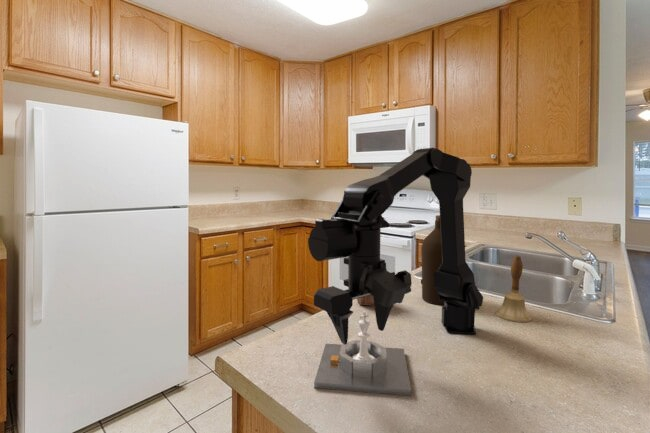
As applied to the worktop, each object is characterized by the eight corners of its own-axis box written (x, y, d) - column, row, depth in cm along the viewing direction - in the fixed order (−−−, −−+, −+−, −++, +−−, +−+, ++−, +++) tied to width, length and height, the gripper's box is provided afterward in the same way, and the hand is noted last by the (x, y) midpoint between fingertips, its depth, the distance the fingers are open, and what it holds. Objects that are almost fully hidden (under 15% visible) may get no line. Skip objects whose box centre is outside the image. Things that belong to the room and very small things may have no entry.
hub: (403, 353, 69) (403, 336, 69) (410, 395, 55) (411, 375, 55) (325, 348, 72) (325, 332, 71) (314, 387, 58) (314, 368, 57)
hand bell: (534, 315, 89) (538, 255, 88) (528, 325, 83) (532, 261, 81) (499, 307, 94) (502, 251, 93) (491, 316, 88) (494, 256, 87)
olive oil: (465, 300, 100) (468, 216, 97) (443, 309, 93) (446, 218, 91) (433, 291, 108) (436, 213, 106) (412, 298, 102) (414, 215, 99)
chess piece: (382, 365, 63) (383, 313, 62) (362, 373, 60) (362, 319, 59) (364, 354, 67) (365, 305, 66) (345, 361, 64) (345, 310, 63)
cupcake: (351, 308, 94) (351, 273, 93) (350, 298, 102) (351, 265, 101) (384, 309, 93) (384, 273, 92) (380, 298, 102) (381, 265, 101)
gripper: (355, 271, 49) (354, 373, 51) (433, 254, 60) (431, 338, 62) (311, 257, 58) (312, 344, 60) (387, 245, 69) (385, 319, 71)
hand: (363, 336), depth 63 cm, fingers open, 9 cm apart
